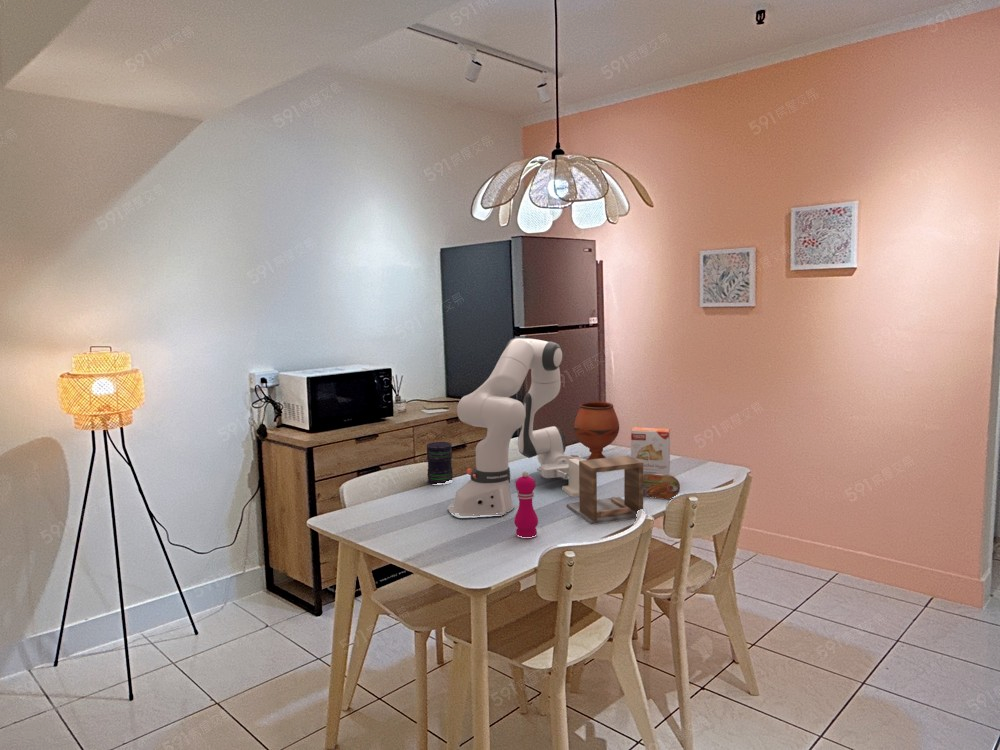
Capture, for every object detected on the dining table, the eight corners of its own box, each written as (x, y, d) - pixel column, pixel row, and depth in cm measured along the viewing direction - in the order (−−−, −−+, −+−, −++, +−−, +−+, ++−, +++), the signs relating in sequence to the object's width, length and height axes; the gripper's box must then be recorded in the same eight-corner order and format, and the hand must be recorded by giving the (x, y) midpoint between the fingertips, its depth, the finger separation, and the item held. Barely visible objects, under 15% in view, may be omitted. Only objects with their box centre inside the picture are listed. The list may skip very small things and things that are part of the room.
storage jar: (429, 478, 272) (428, 442, 270) (454, 478, 271) (453, 441, 270) (426, 486, 262) (424, 448, 260) (451, 485, 262) (450, 447, 260)
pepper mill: (513, 531, 211) (512, 468, 209) (536, 530, 212) (535, 467, 209) (515, 540, 204) (514, 475, 201) (539, 539, 204) (538, 474, 202)
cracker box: (630, 484, 258) (630, 429, 255) (632, 479, 263) (632, 426, 261) (668, 486, 253) (669, 431, 251) (670, 482, 259) (670, 428, 256)
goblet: (575, 468, 282) (575, 408, 279) (572, 456, 301) (572, 400, 298) (622, 467, 281) (622, 407, 278) (616, 455, 300) (616, 399, 297)
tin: (636, 496, 244) (636, 473, 242) (638, 493, 246) (638, 470, 245) (678, 501, 237) (678, 477, 235) (680, 498, 239) (681, 475, 238)
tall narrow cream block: (572, 497, 244) (571, 465, 243) (562, 490, 253) (562, 459, 251) (592, 494, 246) (592, 463, 245) (582, 487, 255) (582, 457, 253)
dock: (590, 524, 216) (589, 469, 213) (566, 506, 234) (566, 455, 231) (646, 516, 222) (646, 462, 219) (619, 499, 240) (619, 449, 237)
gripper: (534, 460, 260) (548, 469, 247) (584, 455, 266) (599, 463, 253) (535, 476, 261) (548, 486, 248) (584, 470, 267) (599, 480, 254)
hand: (574, 474), depth 251 cm, fingers open, 6 cm apart
